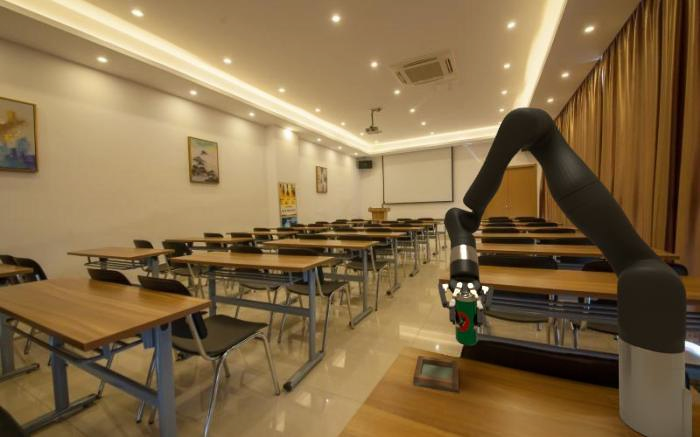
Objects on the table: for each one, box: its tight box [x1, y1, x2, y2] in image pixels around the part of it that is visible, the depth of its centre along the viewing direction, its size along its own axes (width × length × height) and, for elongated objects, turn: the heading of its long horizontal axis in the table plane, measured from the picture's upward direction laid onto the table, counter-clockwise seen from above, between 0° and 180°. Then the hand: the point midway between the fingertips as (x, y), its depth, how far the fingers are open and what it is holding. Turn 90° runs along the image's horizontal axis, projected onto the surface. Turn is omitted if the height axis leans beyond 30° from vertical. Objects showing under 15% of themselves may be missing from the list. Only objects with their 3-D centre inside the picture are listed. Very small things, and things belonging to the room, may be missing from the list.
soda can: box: [455, 292, 478, 347], centre depth 72 cm, size 5×5×12 cm
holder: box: [413, 355, 460, 394], centre depth 78 cm, size 11×11×2 cm
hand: (466, 324), depth 70 cm, fingers closed on soda can, 5 cm apart
